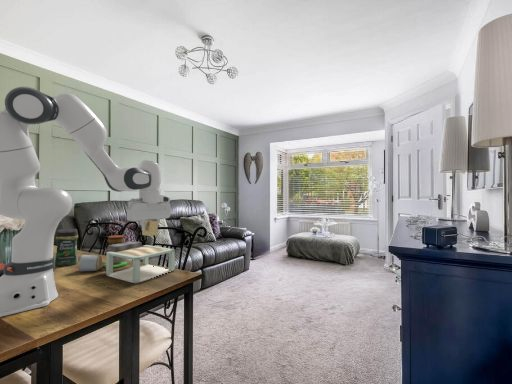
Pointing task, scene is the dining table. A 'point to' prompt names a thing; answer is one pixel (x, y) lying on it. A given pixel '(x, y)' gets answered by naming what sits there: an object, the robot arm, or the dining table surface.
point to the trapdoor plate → (132, 249)
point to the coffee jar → (66, 247)
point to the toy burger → (118, 260)
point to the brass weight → (150, 228)
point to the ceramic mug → (90, 263)
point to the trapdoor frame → (139, 266)
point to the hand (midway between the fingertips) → (149, 229)
